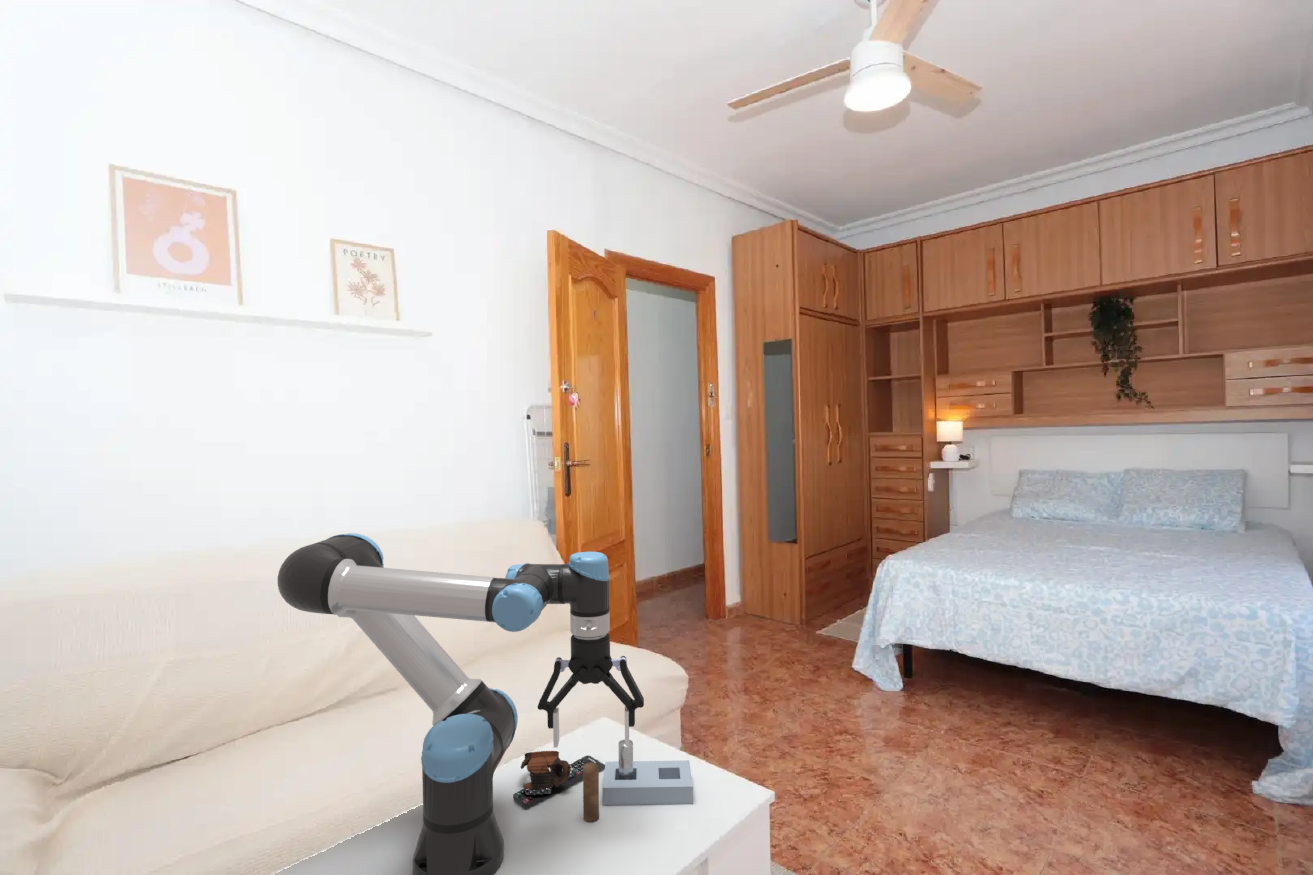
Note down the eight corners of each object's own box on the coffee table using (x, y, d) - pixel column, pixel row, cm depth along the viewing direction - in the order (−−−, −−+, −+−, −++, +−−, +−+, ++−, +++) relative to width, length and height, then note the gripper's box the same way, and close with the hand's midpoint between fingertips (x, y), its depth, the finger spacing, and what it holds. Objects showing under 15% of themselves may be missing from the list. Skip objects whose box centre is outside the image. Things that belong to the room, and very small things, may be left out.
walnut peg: (582, 822, 124) (582, 770, 124) (584, 812, 127) (583, 762, 127) (598, 822, 124) (598, 770, 124) (599, 812, 127) (599, 762, 127)
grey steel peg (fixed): (618, 794, 133) (618, 746, 133) (619, 786, 136) (618, 739, 136) (633, 794, 133) (632, 746, 133) (633, 786, 136) (633, 739, 136)
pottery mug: (509, 797, 134) (511, 753, 138) (535, 796, 141) (536, 754, 145) (560, 793, 129) (560, 747, 133) (584, 792, 137) (583, 749, 141)
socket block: (602, 805, 130) (602, 787, 130) (605, 777, 140) (605, 761, 140) (692, 803, 130) (692, 786, 130) (689, 776, 140) (689, 760, 140)
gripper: (521, 641, 121) (523, 754, 121) (655, 639, 121) (657, 751, 122) (528, 628, 128) (530, 735, 129) (654, 626, 129) (656, 732, 129)
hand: (591, 743), depth 125 cm, fingers open, 13 cm apart
